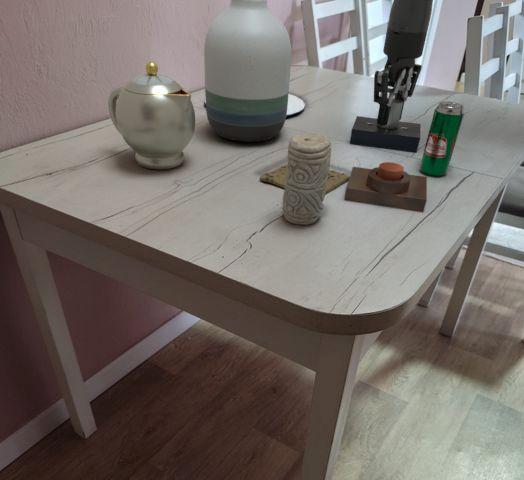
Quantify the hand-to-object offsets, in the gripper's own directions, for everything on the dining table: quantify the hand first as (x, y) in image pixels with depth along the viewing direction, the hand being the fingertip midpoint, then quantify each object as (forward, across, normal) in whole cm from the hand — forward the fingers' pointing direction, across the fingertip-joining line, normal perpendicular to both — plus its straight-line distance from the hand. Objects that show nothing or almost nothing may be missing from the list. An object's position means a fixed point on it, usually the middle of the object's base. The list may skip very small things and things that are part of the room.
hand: (388, 121), depth 103 cm
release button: (0, +25, +17) cm, 31 cm away
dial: (+1, 0, 0) cm, 1 cm away
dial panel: (+4, 0, 0) cm, 4 cm away
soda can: (+4, +8, +16) cm, 19 cm away
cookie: (+4, +30, +3) cm, 31 cm away
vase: (+4, +22, -21) cm, 30 cm away
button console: (+4, +24, +16) cm, 29 cm away
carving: (+4, +42, +13) cm, 44 cm away
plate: (+4, +4, -36) cm, 36 cm away
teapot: (+4, +46, -21) cm, 50 cm away
